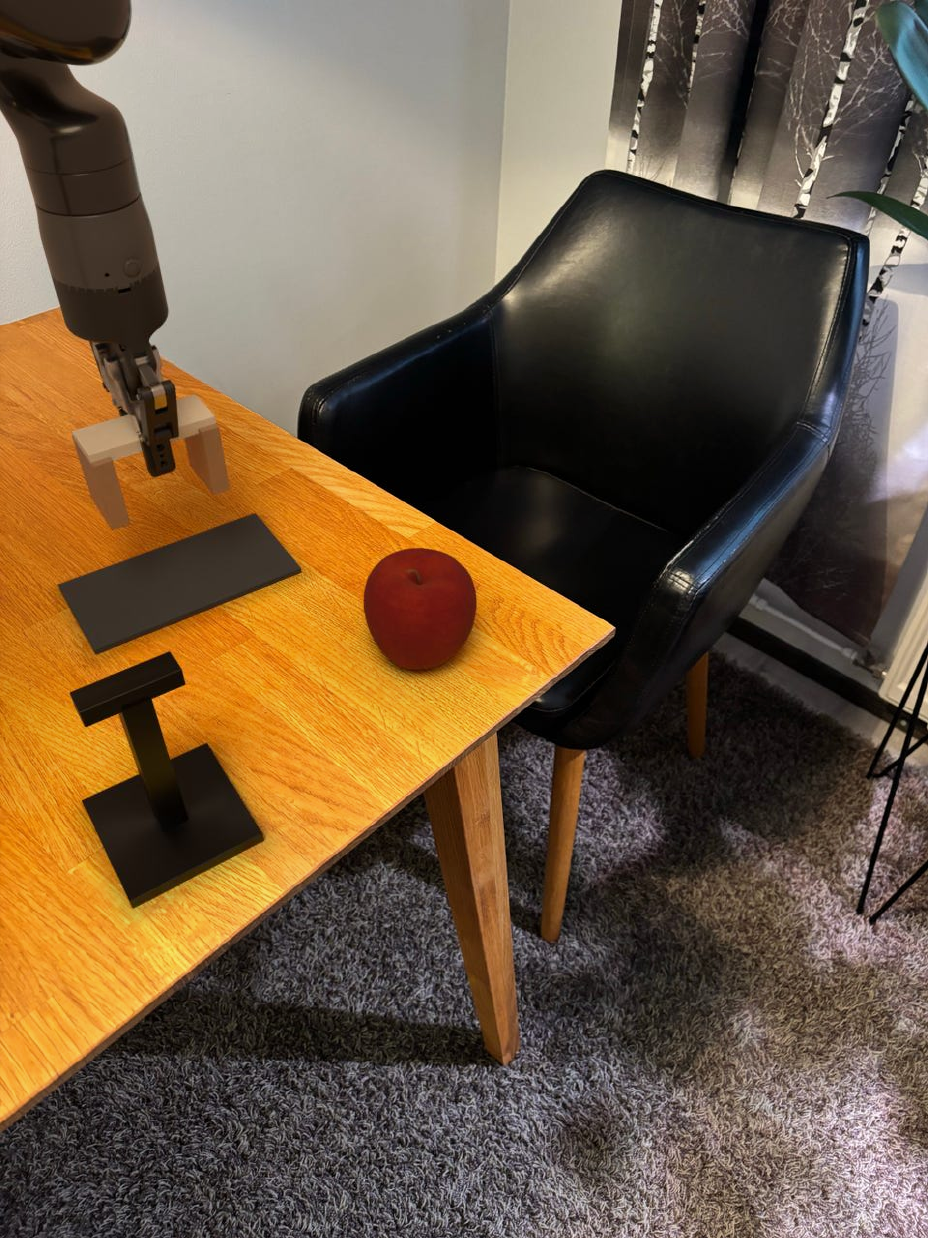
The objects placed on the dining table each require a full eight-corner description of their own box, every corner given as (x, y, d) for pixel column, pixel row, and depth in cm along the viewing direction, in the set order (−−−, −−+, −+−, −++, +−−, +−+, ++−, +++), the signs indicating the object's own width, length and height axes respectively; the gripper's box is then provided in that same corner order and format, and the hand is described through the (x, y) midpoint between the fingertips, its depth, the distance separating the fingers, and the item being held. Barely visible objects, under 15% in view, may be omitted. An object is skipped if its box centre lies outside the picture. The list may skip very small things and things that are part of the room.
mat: (95, 654, 84) (93, 650, 84) (59, 589, 90) (57, 584, 89) (301, 572, 92) (301, 567, 92) (256, 517, 98) (255, 512, 98)
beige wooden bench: (112, 530, 80) (91, 459, 75) (91, 498, 83) (69, 427, 78) (230, 489, 85) (217, 419, 80) (206, 460, 88) (192, 390, 83)
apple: (426, 599, 90) (426, 514, 83) (497, 655, 85) (503, 570, 78) (345, 647, 85) (337, 561, 78) (415, 710, 81) (414, 624, 74)
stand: (132, 909, 67) (72, 769, 56) (84, 807, 73) (21, 663, 62) (264, 840, 71) (233, 698, 60) (209, 750, 77) (171, 604, 66)
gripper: (21, 235, 72) (80, 431, 84) (85, 313, 64) (140, 518, 76) (119, 215, 75) (162, 406, 87) (192, 286, 67) (229, 487, 79)
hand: (151, 457), depth 81 cm, fingers closed on beige wooden bench, 4 cm apart
